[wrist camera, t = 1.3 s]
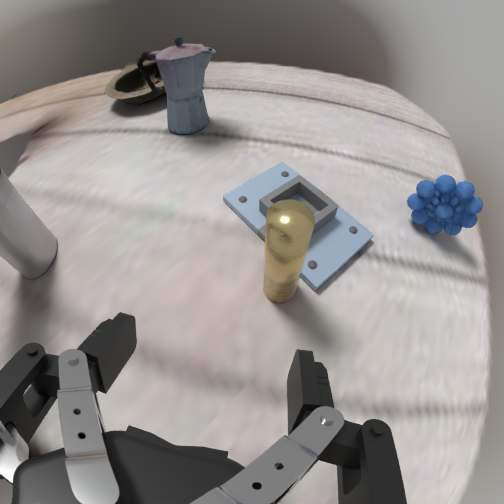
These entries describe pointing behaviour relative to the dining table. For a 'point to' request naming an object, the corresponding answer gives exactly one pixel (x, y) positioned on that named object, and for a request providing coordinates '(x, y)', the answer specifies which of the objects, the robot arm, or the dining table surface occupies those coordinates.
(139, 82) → the stone bowl
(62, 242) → the dining table surface
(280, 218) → the pin
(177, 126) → the moka pot
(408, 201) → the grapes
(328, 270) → the square socket mounting plate
